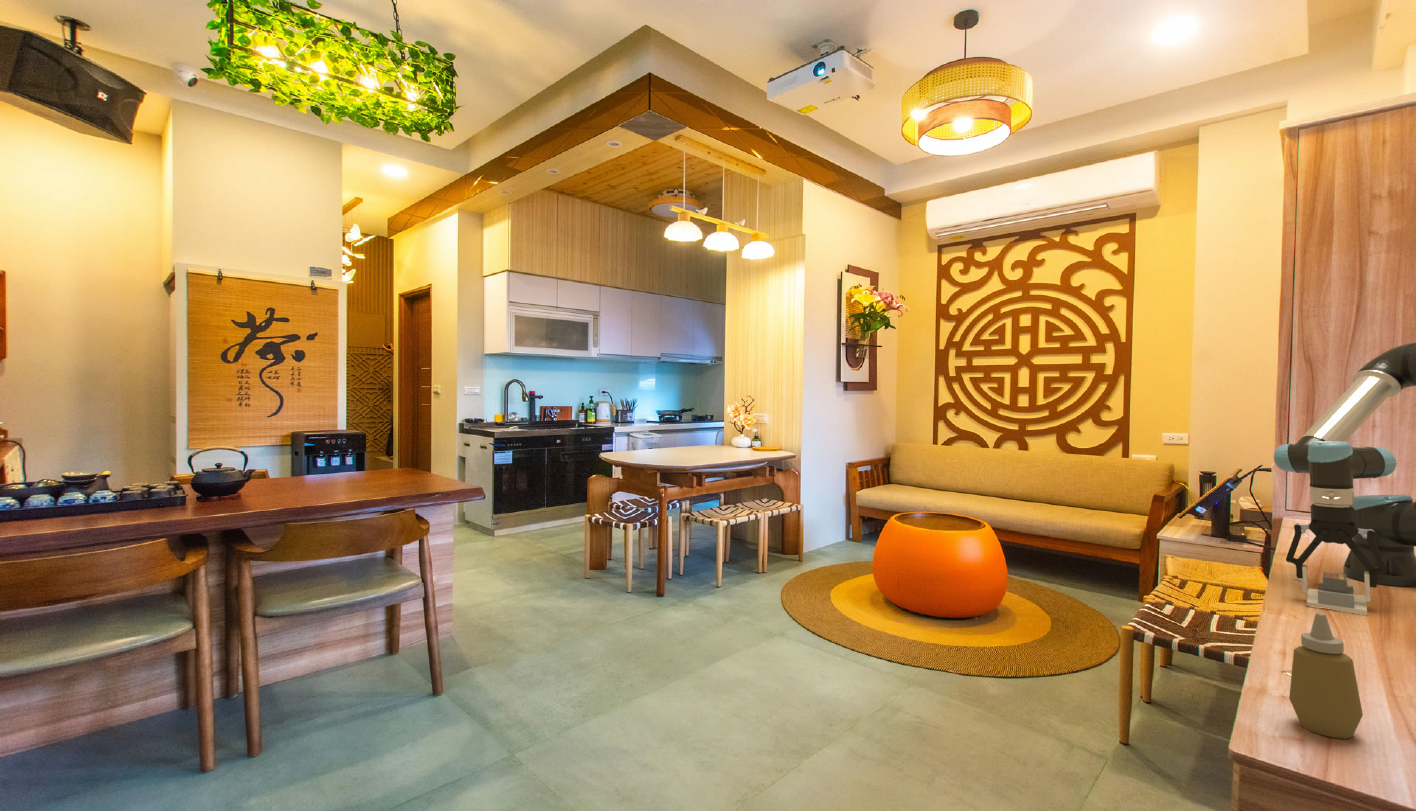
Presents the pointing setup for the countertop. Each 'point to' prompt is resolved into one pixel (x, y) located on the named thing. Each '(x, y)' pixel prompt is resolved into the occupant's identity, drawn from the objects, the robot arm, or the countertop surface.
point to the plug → (1334, 582)
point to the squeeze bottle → (1324, 684)
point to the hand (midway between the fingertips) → (1336, 595)
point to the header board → (1337, 600)
